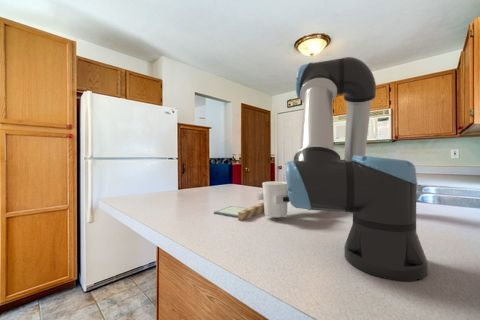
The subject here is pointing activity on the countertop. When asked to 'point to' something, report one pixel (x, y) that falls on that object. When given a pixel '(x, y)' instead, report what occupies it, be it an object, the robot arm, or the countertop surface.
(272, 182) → the candle holder
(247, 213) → the brown wooden bar
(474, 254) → the countertop surface
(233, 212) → the square tile
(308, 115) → the robot arm
